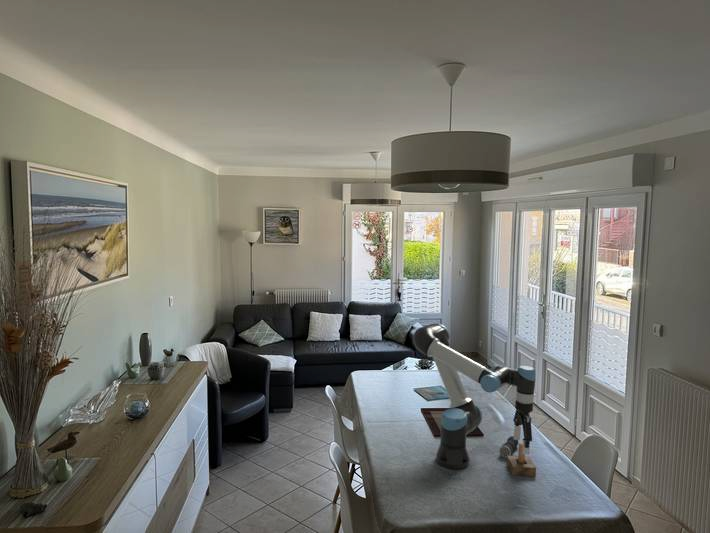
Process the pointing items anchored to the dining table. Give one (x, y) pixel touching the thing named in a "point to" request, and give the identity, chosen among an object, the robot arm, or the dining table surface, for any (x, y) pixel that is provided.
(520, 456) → the peg
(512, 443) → the flashlight
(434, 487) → the dining table surface
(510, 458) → the socket block
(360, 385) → the dining table surface
